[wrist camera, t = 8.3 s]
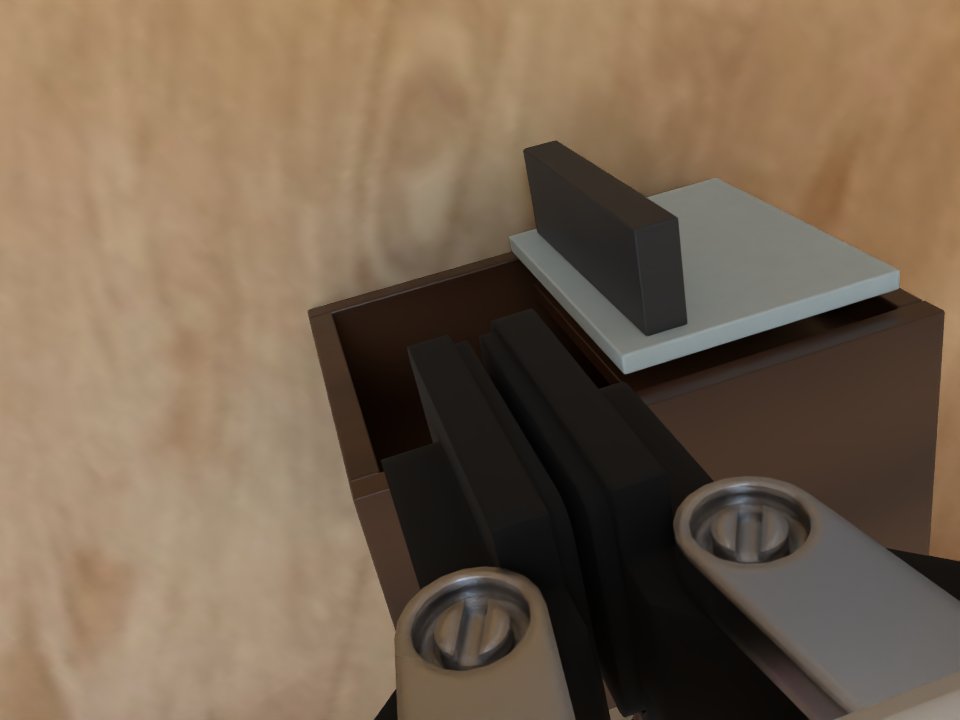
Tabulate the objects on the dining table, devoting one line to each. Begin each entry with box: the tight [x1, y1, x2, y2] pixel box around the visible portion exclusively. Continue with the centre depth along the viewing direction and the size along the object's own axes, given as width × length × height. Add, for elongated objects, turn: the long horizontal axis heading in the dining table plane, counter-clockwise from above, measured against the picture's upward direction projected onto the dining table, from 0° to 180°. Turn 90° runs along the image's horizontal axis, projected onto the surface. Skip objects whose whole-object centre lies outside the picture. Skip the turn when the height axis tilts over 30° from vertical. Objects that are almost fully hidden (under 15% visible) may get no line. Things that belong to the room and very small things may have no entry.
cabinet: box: [308, 252, 945, 709], centre depth 30 cm, size 10×16×12 cm, turn 101°
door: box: [509, 141, 900, 374], centre depth 27 cm, size 4×8×10 cm, turn 101°
